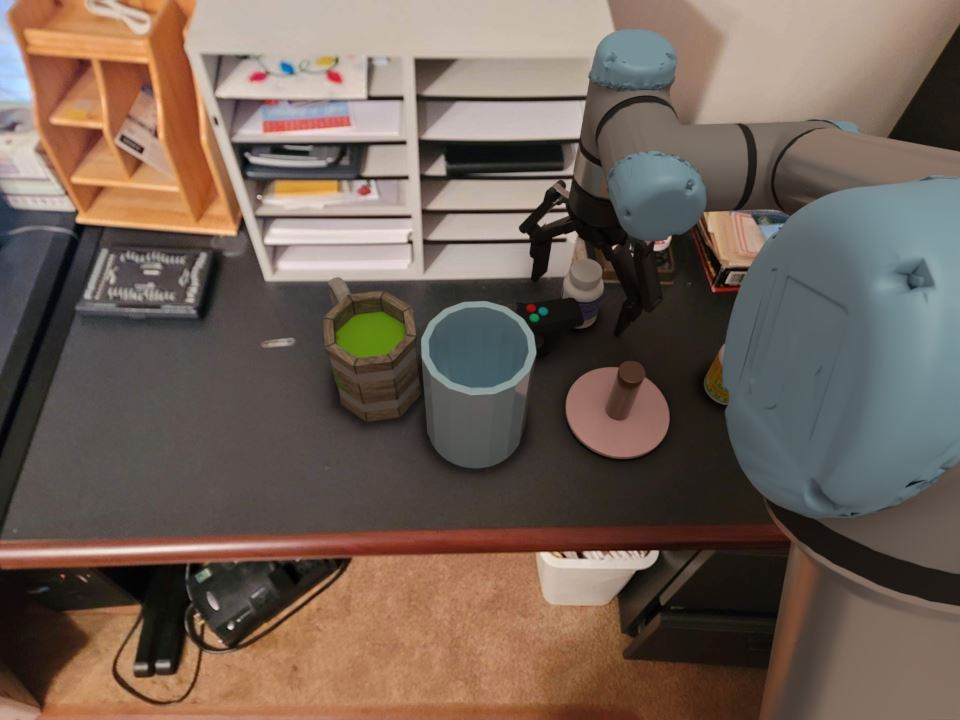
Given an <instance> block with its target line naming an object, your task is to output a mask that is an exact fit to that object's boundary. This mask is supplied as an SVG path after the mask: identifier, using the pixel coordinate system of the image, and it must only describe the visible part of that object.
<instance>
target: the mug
mask: <svg viewBox="0 0 960 720" xmlns="http://www.w3.org/2000/svg"><path fill="white" fill-rule="evenodd" d="M327 289H328V293H329V297H330V300H331V305H332V308H331V310H330V311H328V312H327V313H326V314H325V315H324V316H323V317H322V323H323V342H324V349H325V351H326V353H327V355H328V357H329V360H330V364H331V369H332V378H333V380H334V382H335V384H336V387H337V390H338V393H339V404H340V405H341V406H342V407H343V408H345V409H346V410H348V411H349V412H351V413H352V414H354V415H355V416H357V417H358V418H360V419H362V420H363V421H365V422H366V423H367V422H376V421H382V420H390V419H397V418H401V417H402V416H403V415H404V414H405V413H406V412H407V411H408V410H409V409H410V407H411V406H412V405H413V404H414V403H415V402H416V401H417V399H418V398H419V397H420V396H421V395H422V388H421V380H420V374H419V369H420V365H419V359H418V351H417V345H416V343H417V331H416V324H415V318H414V310H413V307H412V306H411V305H409V304H407V303H406V302H404V301H402V300H401V299H399V298H397V297H396V296H394V295H392V294H391V293H389V292H388V291H385V290H376V291H367V292H360V293H359V292H357V293H352V292H351V291H350V289H349V286H348V285H347V283H346V281H345V280H344V279H343V278H341V277H340V276H336V277H332V278H331V279H330V280H328V283H327Z"/></svg>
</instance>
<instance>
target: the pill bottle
mask: <svg viewBox="0 0 960 720" xmlns="http://www.w3.org/2000/svg"><path fill="white" fill-rule="evenodd" d="M602 277H603V268H602V265H601V264H600V263H599V262H598V261H596V260H593V259H591V258H585V257H584V258H579V259H576V260H575V261H574V262H572V263H571V266H570V270H569V272H568V273H567V274H566V275H565V277H564V278H563V282H562V285H561V286H562V287H561V292H560V297H559V299H563V298H571V297H572V298H574V299H576V300H577V302H578V304H579V306H580V308H581V311H582V313H583V317H584V323H583V325H582V326H579V327H576V328H575V329H585V328H588V327H590V326H592V325H593V324H594V323H595V321H596V320H597V318H598V313H599V309H600V305H601V302H602V298H603V295H604V289H605V286H604V284H605V283H604V281H603V279H602Z"/></svg>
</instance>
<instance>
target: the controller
mask: <svg viewBox="0 0 960 720" xmlns="http://www.w3.org/2000/svg"><path fill="white" fill-rule="evenodd" d="M500 305H502V306H505V307H507V308H509V309H510V310H512V311H513V312H515V313H516V314H517V315H519V316H520V317H522V318H523V319H524V320H525V322H526V323H527V325H528V326H529V328H530V329H531V331H532V332H533V334H534V338H535V345H536V358H537V357H540V356H541V355H544V354H545V353H547V352H549V351H550V350H552V349H553V348H554V347H556V346H557V344H558V343H559V342H560V341H561V340H562V337H563V335H564V334H565V332H568V331H569V330H573V329H577V328H576V327H579V326H582V325H583V323H584V317H583V313H582V311H581V308H580V306H579V304H578V302H577V300H576V299H574V298H572V297H571V298H563V299H560V298H559V299H558V298H557V299H550V300H541V301H535V302H527V303H523V302H515V301H513V300H511V299H506V300H503V301H502V302H501V303H500Z"/></svg>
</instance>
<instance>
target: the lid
mask: <svg viewBox="0 0 960 720" xmlns="http://www.w3.org/2000/svg"><path fill="white" fill-rule="evenodd" d="M564 406H565V407H564V408H565V409H564V412H565V419H566V422H567V424H568V426H569V428H570V430H571V432H572V434H573V435H574V436H575V438H576V439H577V440H578V441H579V442H580V443H581V444H582V445H583V446H585V447H586V448H587V449H589V450H590V451H592V452H594V453H596V454H598V455H600V456H603V457H606V458H610V459H618V460H630V459H637V458H639V457H643V456H645V455H647V454H649V453H651V452H652V451H654V450H655V449H656V448H657V447H658V446H659V445H660V444H661V443H662V442H663V440H664V438H665V437H666V435H667V433H668V430H669V426H670V420H671V418H670V409H669V406H668V403H667V400H666V398H665V396H664V395H663V393H662V392H661V390H660V389H659V388H658V386H657V385H656V384H654V383H653V381H651V380H650V379H649V378H647V377H646V370H645V368H644V366H643V364H641V363H640V362H637V361H634V360H626V361H624V362H622V363H621V364H619V366H618V367H617V366H608V367H598V368H596V369H591V370H590V371H587V372H586V373H584V374H583V375H581V376H579V378H577V379H576V380H575V381H574V383H573V384H572V385H571V387H570V389H569V390H568V393H567V395H566V399H565V405H564Z"/></svg>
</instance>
